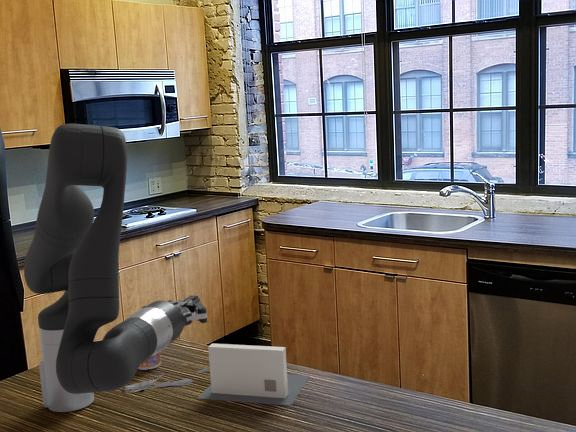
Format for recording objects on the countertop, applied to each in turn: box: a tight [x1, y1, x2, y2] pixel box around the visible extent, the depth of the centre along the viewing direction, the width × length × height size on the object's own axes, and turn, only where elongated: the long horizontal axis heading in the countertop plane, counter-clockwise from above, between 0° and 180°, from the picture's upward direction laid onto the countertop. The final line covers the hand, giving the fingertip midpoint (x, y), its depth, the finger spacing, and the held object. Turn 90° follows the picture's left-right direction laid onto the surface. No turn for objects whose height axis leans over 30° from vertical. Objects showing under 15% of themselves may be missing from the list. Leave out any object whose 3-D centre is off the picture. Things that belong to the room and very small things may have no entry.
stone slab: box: [122, 366, 210, 394], centre depth 149 cm, size 18×2×10 cm
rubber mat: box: [196, 373, 311, 406], centre depth 141 cm, size 20×15×1 cm
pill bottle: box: [138, 351, 162, 371], centre depth 158 cm, size 6×6×11 cm
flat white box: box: [208, 343, 288, 398], centre depth 137 cm, size 16×2×10 cm, turn 73°
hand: (194, 300), depth 126 cm, fingers closed
